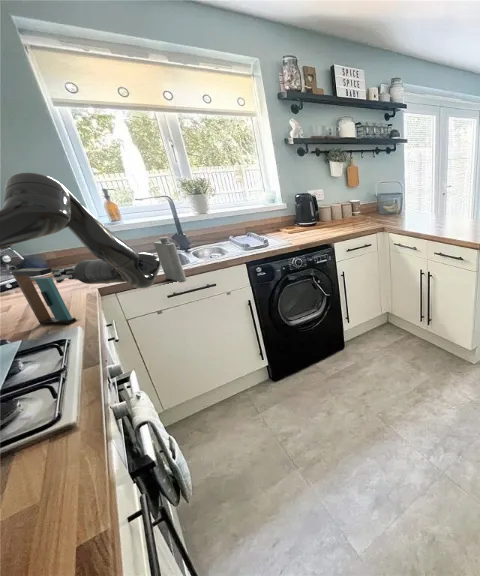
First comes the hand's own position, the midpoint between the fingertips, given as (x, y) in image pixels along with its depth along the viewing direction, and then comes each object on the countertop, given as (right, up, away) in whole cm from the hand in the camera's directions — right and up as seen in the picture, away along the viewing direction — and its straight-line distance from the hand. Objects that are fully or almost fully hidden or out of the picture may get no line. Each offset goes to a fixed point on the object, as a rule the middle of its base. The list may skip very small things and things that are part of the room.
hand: (56, 272), depth 99 cm
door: (-5, -16, +7) cm, 18 cm away
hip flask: (+8, -1, +46) cm, 47 cm away
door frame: (-8, -17, +8) cm, 21 cm away
